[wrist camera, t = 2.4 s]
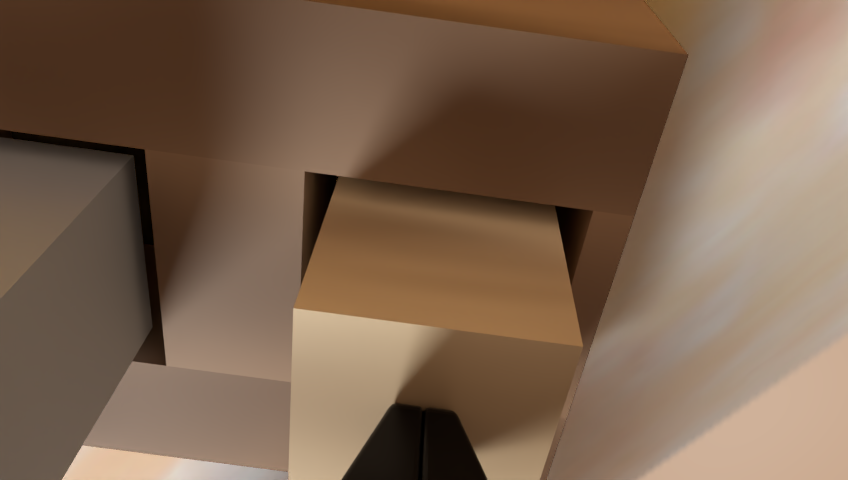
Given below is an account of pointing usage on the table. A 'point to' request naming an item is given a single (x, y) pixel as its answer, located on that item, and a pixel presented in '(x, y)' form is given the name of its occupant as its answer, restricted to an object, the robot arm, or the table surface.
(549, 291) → the maple key
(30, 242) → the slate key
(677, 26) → the table surface
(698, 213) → the table surface
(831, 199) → the table surface
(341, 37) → the brown slotted block
